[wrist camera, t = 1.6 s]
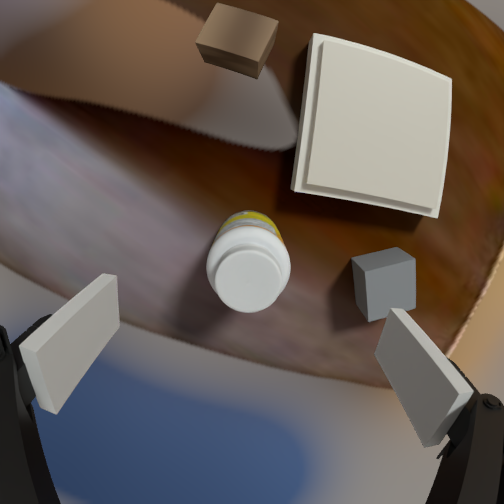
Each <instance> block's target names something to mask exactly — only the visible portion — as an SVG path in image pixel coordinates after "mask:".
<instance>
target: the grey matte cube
mask: <svg viewBox="0 0 504 504" xmlns="http://www.w3.org/2000/svg"><path fill="white" fill-rule="evenodd" d="M351 261H352V269H353V278H354V288H355V299H356V305H357V306H358V308H359V309H360V310H361V312H362V313H363V315H364V316H365V318H366V319H367V321H368V322H371V321H374V320H378V319H381V318H385V317H387V316H388V313H389V310H390V308H399V309H404V311H408V310H411V309H414V308H416V268H415V258H413V257H412V256H410V255H409V254H407V253H406V252H404V251H403V250H401V249H400V248H398V247H394V248H390V249H386V250H382V251H378V252H374V253H370V254H365V255H361V256H357V257H353V258H351Z"/></svg>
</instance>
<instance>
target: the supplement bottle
mask: <svg viewBox="0 0 504 504" xmlns="http://www.w3.org/2000/svg"><path fill="white" fill-rule="evenodd" d="M206 270H207V276H208V279H209V282H210V284H211V286H212V288H213V289H214V291H215V292H216V293H217V294H218V296H219V297H220V299H221V300H222V301H223V302H224V303H225V304H226V305H227V306H229V307H230V308H232V309H234V310H236V311H240V312H246V313H251V312H257V311H260V310H263V309H265V308H267V307H268V306H270V305H271V304H272V303H273V302H274V301H275V300H276V299H277V297H278V295H279V294H280V293H281V292H282V291H283V289H284V288H285V286H286V284H287V282H288V279H289V276H290V259H289V255H288V252H287V249H286V247H285V245H284V242H283V240H282V238H281V236H280V233H279V231H278V229H277V227H276V225H275V224H274V222H273V221H272V220H271V219H270V218H268V217H267V216H266V215H264V214H262V213H259V212H256V211H242V212H238V213H235V214H233V215H232V216H230V217H229V218H228V219H227V220H226V221H225V222H224V223H223V224H222V226H221V228H220V229H219V231H218V234H217V236H216V238H215V240H214V242H213V244H212V246H211V249H210V251H209V254H208V258H207V264H206Z"/></svg>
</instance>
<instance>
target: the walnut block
mask: <svg viewBox="0 0 504 504" xmlns="http://www.w3.org/2000/svg"><path fill="white" fill-rule="evenodd" d="M278 22H279V21H277V20H274V19H271V18H268V17H265V16H262V15H259V14H256V13H253V12H249V11H246V10H242V9H239V8H235V7H231V6H228V5H224V4H219V3H217V4H216V6H215V7H214V9H213V11H212V12H211V14H210V16H209V18H208V19H207V21H206V23H205V25H204V27H203V28H202V30H201V32H200V34H199V36H198V38H197V40H196V42H195V43H196V45H197V47H198V49H199V51H200V53H201V55H202V57H203V60H204V62H206V63H209V64H213V65H216V66H219V67H222V68H225V69H228V70H232V71H235V72H238V73H241V74H243V75H246V76H249V77H252V78H255V79H258V77H259V74H260V72H261V70H262V68H263V66H264V64H265V62H266V59H267V57H268V55H269V53H270V51H271V49H272V47H273V45H274V42H275V37H276V32H277V27H278Z"/></svg>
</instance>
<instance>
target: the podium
mask: <svg viewBox="0 0 504 504" xmlns="http://www.w3.org/2000/svg"><path fill="white" fill-rule="evenodd" d="M451 99H452V79H450V78H448V77H446V76H444V75H442V74H440V73H438V72H435V71H433V70H431V69H428V68H426V67H424V66H421V65H419V64H416V63H414V62H411V61H409V60H406V59H403V58H401V57H398V56H395V55H392V54H389V53H386V52H383V51H380V50H377V49H374V48H371V47H368V46H364V45H361V44H357V43H354V42H350V41H346V40H343V39H339V38H334V37H330V36H326V35H321V34H317V33H313V35H312V37H311V39H310V41H309V45H308V54H307V63H306V72H305V81H304V90H303V98H302V106H301V114H300V122H299V130H298V138H297V145H296V153H295V160H294V167H293V174H292V181H291V188H290V189H291V190H293V191H295V192H302V193H308V194H315V195H321V196H327V197H333V198H339V199H345V200H350V201H356V202H361V203H367V204H372V205H377V206H382V207H387V208H392V209H397V210H402V211H407V212H411V213H416V214H421V215H425V216H429V217H434V218H438V214H439V209H440V203H441V198H442V192H443V185H444V179H445V172H446V164H447V156H448V146H449V135H450V121H451Z"/></svg>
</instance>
